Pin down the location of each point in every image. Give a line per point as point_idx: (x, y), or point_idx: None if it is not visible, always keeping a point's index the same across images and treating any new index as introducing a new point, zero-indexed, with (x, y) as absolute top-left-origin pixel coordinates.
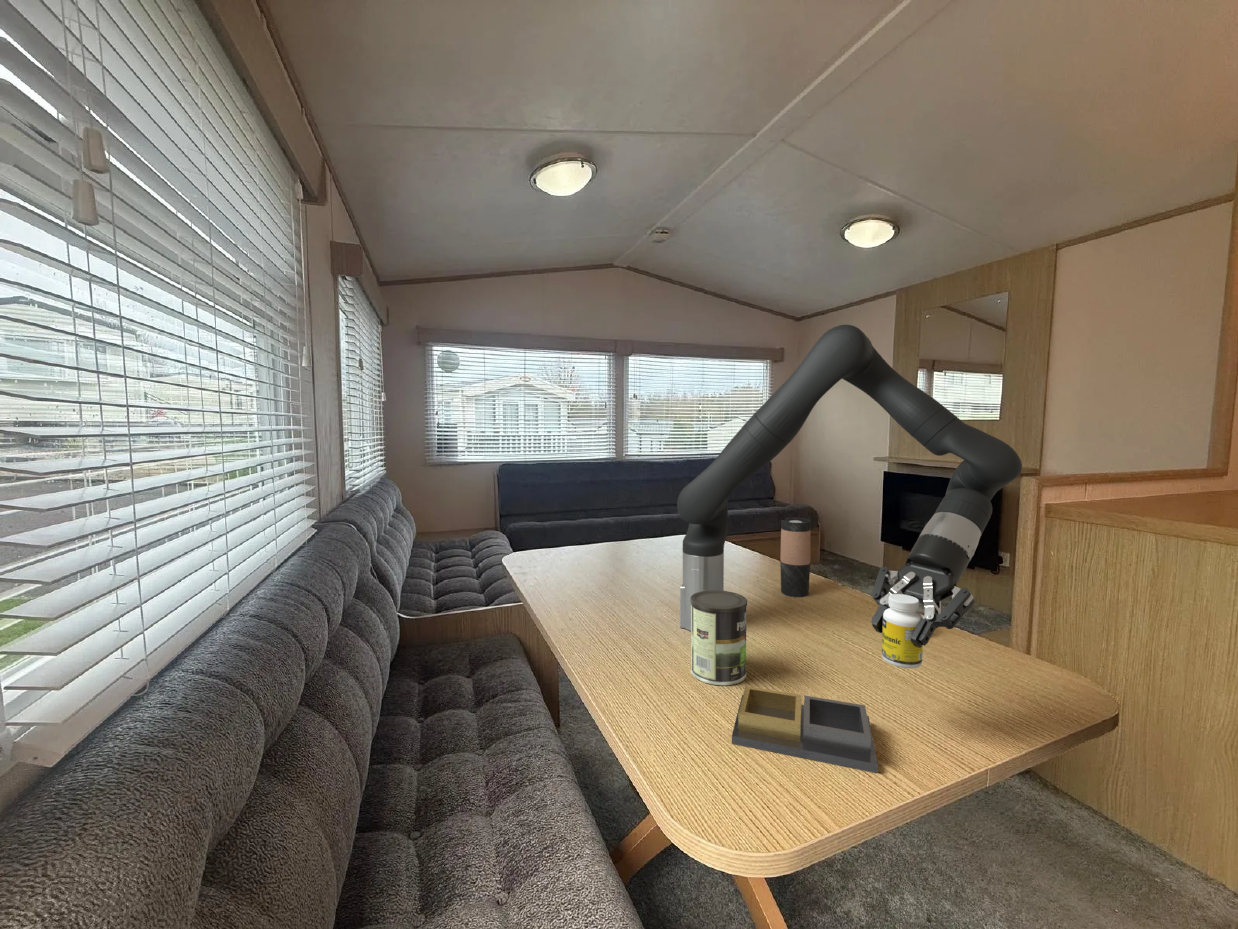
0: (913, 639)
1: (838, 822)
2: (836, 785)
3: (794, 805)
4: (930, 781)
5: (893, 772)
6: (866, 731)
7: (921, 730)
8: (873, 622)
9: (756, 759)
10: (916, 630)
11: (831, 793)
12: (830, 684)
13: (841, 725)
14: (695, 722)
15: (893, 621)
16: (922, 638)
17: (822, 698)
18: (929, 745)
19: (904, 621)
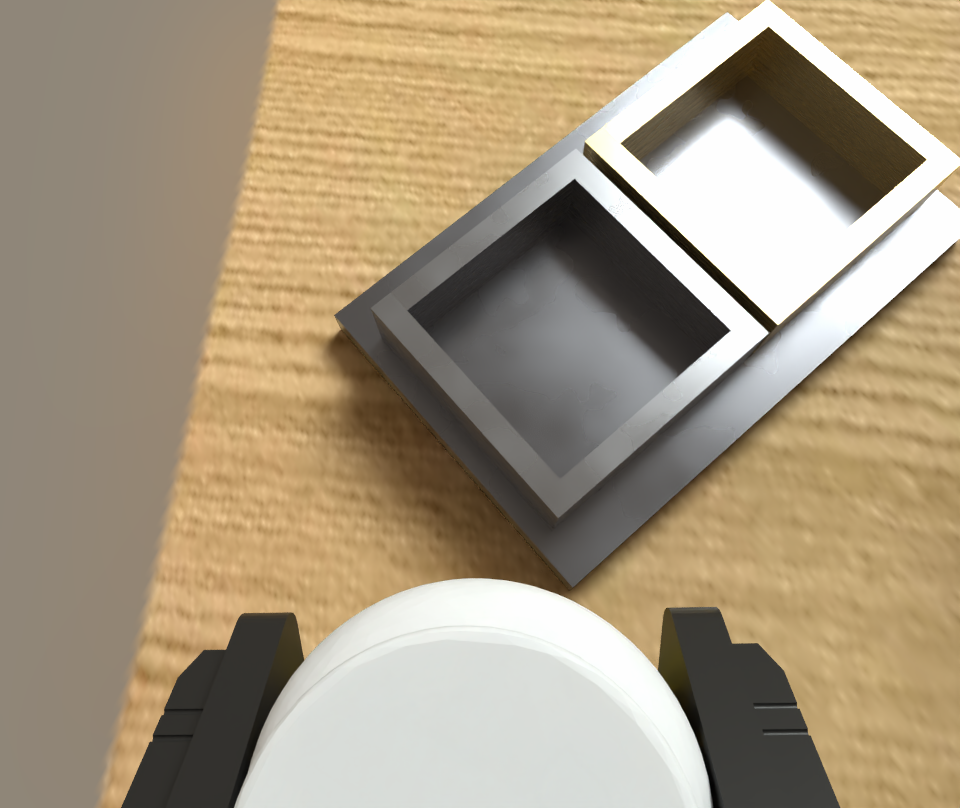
0: (263, 615)
1: (277, 57)
2: (379, 166)
3: (390, 8)
4: (207, 452)
5: (312, 382)
6: (409, 329)
7: None
8: (716, 617)
9: (609, 50)
10: (247, 687)
11: (364, 127)
12: (941, 763)
13: (580, 410)
14: (891, 7)
15: (459, 580)
16: (191, 670)
17: (705, 385)
18: None
19: (345, 627)
